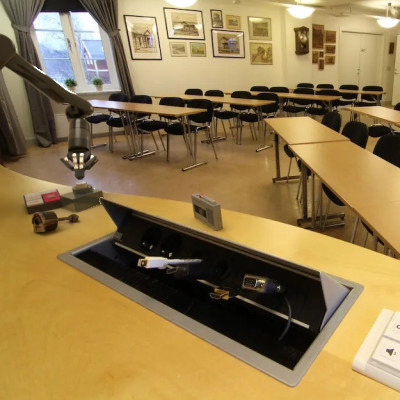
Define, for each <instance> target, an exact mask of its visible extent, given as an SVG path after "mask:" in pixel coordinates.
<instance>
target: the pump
mask: <svg viewBox="0 0 400 400" xmlns="http://www.w3.org/2000/svg"><path fill="white" fill-rule="evenodd" d="M87 184H88V182H87V181H84V180H80V181H77V182H75V186H76V187H77V188H85V187H88V186H87Z"/></svg>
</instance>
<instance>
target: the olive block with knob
mask: <svg viewBox="0 0 400 400" xmlns="http://www.w3.org/2000/svg"><path fill="white" fill-rule="evenodd" d="M87 186H88V187H85V188H77V187H76V185H74V186H73V187H71V191H70V192H66V193H63V194H60V195H59V197H60V201H61V204H62V207H63V208H62V209H64V210H67V211H70V212H73V213H75V214H76V213H79V212H82V211H85V210H89V209H92V208H94V207H93V206H95V207H97V206H96V205H98V206H100V205H102V204H100V202H99V198H100V197H103V198H104V199H105V197H104V193H103V190H102V189H97V188H94V187H93V184H90V183H87ZM91 207H92V208H91ZM88 208H89V209H88Z"/></svg>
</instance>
